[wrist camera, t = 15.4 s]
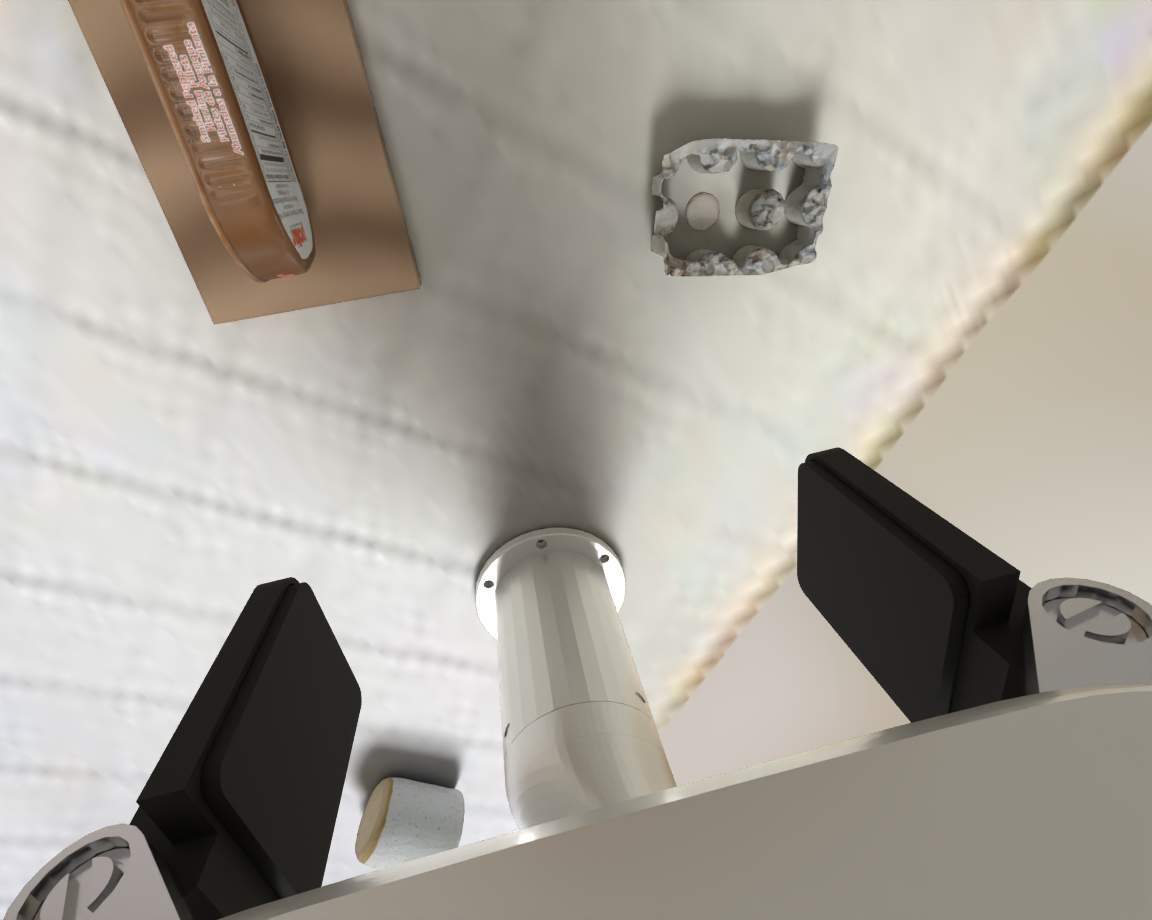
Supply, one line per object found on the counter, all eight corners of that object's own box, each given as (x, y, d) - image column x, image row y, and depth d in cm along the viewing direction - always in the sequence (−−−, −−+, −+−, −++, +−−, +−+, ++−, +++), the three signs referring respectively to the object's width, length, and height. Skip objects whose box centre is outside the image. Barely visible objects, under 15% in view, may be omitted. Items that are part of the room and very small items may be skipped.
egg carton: (642, 270, 37) (660, 280, 34) (650, 140, 34) (671, 136, 30) (792, 268, 39) (824, 278, 35) (814, 143, 35) (852, 140, 32)
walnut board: (421, 284, 35) (419, 288, 34) (223, 318, 34) (214, 324, 33) (303, -162, 26) (294, -181, 24) (25, -133, 25) (0, -150, 23)
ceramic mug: (388, 757, 54) (376, 842, 47) (467, 773, 57) (465, 855, 50) (347, 821, 57) (330, 908, 51) (423, 833, 60) (416, 917, 54)
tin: (153, -78, 25) (21, -183, 18) (226, -86, 25) (125, -194, 18) (282, 270, 32) (226, 300, 25) (338, 261, 32) (298, 287, 25)
